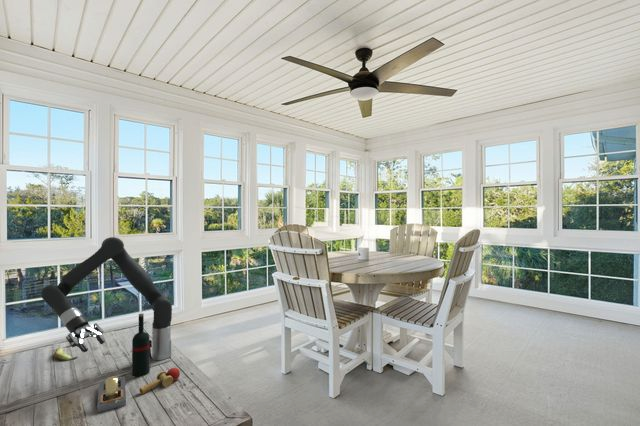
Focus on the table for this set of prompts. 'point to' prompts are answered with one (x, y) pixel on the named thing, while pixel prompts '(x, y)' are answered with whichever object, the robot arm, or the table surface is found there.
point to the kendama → (162, 379)
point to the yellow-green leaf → (62, 354)
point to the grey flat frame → (114, 402)
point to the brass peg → (111, 388)
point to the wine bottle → (141, 351)
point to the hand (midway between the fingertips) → (95, 346)
